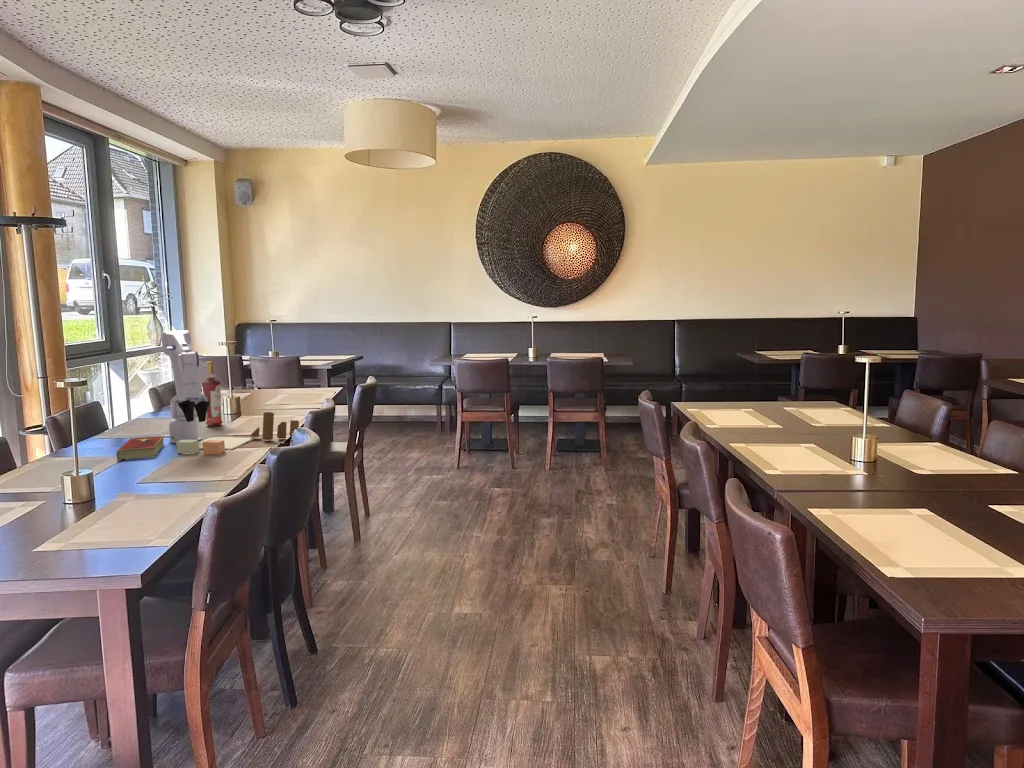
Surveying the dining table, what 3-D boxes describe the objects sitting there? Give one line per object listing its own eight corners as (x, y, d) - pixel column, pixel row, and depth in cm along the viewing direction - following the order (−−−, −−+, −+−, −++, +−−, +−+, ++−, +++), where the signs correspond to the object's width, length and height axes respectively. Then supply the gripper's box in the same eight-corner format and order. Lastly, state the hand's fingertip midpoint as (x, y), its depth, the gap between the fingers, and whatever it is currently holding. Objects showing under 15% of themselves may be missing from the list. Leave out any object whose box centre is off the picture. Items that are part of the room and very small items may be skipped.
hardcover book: (117, 461, 241) (116, 449, 240) (130, 448, 261) (129, 437, 260) (155, 458, 245) (154, 446, 244) (165, 445, 264) (164, 435, 264)
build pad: (185, 449, 256) (185, 447, 256) (211, 438, 274) (211, 437, 273) (231, 449, 254) (231, 448, 254) (255, 439, 272) (255, 437, 271)
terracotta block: (203, 454, 248) (202, 442, 247) (209, 452, 252) (208, 439, 251) (219, 454, 247) (218, 442, 246) (225, 452, 251) (224, 440, 250)
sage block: (177, 454, 249) (176, 442, 248) (183, 451, 253) (182, 439, 252) (192, 454, 248) (191, 442, 248) (199, 451, 252) (198, 439, 252)
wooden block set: (298, 441, 276) (299, 416, 278) (296, 438, 267) (298, 412, 270) (250, 441, 272) (252, 415, 274) (247, 438, 263) (249, 411, 266)
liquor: (216, 427, 295) (212, 362, 291) (201, 427, 297) (196, 362, 293) (227, 424, 302) (222, 360, 298) (212, 423, 304) (207, 360, 300)
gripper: (190, 381, 244) (195, 419, 243) (212, 384, 258) (217, 419, 257) (171, 385, 244) (176, 422, 243) (195, 387, 259) (199, 423, 258)
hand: (196, 421), depth 250 cm, fingers open, 7 cm apart
